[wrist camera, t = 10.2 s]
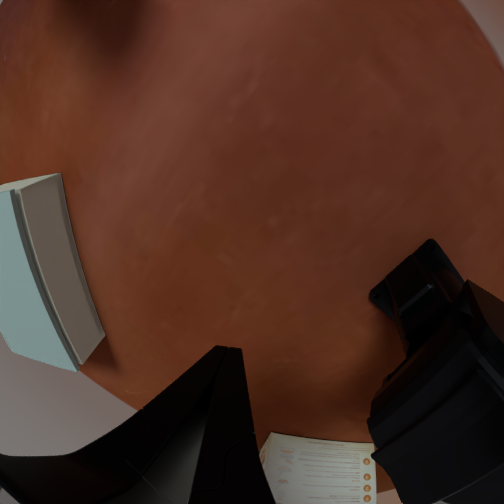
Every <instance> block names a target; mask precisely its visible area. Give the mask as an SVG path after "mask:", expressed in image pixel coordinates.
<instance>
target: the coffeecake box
mask: <svg viewBox="0 0 504 504" xmlns="http://www.w3.org/2000/svg"><path fill="white" fill-rule="evenodd" d="M374 451H375V450H374V443H352V442H339V441H328V440H319V439H310V438H303V437H296V436H290V435H284V434H278V433H273V432H271V434H270V435H269V437H268V439H267V440H266V442H265V444H264V445H263V447H262V448H261V451H260V455H259V456H260V460H261V463H262V466H263V469H264V472H265V475H266V478H267V481H268V483H269V486H270V489H271V491H272V494H273V497H274V499H275V502H276V504H376V467H375V461H374V460H373V459H372V458H371V453H373V452H374Z"/></svg>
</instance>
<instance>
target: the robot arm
mask: <svg viewBox="0 0 504 504" xmlns="http://www.w3.org/2000/svg"><path fill="white" fill-rule="evenodd" d="M431 244H433V247H432V248H429V246H430V245H431ZM375 294H378V295H377V296H374V295H375ZM370 298H371V300H372V301H373V302H374V303H375V304H376V305H377V306H378V307H379V308H380V309H381V310H382V311H383V312H384V313H385V314H387V315H388V316H389V317H390V318H391V319H392V320H393V321H394V322H395V323H396V326H397V329H398V332H399V335H400V339H401V342H402V345H403V348H404V352H405V355H406V359H405V360H404V361H403V362H402V363H401V364H400V365H399V366H398V368H397V369H396V370H395V371H394V372H393V373H392V374H389V375H388V376H387V377H386V378H385V379H384V380H383V385H382V387H381V388H380V389H379V390H378V391H377V392H376V394H375V396H374V398H373V400H372V403H371V411H370V417H369V418H368V419H367V424H368V429H369V433H370V435H371V438H372V440H373V442H374V444H375V446H376V447H377V449H378V450H376V451H374V452H373V453H371V458H372V459H373V460H374V461H375V462H377V463H378V464H379V465H380V466H382V467H383V469H384V470H385V471H386V472H387V474H388V475H389V476H390V478H391V480H392V482H393V484H394V486H395V488H396V491H397V493H398V495H399V498H400V500H401V502H402V503H403V504H434V503H436V502H439V501H442V502H445V503H448V504H504V302H503V301H501V300H500V299H498V298H497V297H495V296H494V295H492V294H490V293H489V292H487V291H486V290H484V289H483V288H481V287H479V286H478V285H476V284H475V283H473V282H471V281H470V280H468V279H467V280H466V282H464V281H463V279H462V277H461V276H460V274H459V273H458V271H457V270H456V269H455V267H454V266H453V264H452V263H451V261H450V260H449V258H448V257H447V256H446V254H445V253H444V251H443V250H442V249H441V247H440V246H439V245H438V243H437V242H436V241H435V240H434V239H428V240H427V241H426V242H425V243H424V244H423V245H422V246H421V247H419V248H418V249H417V250H416V251H415V252H414V253H413V254H412V255H409V256H408V257H407V258H406V259H405V260H404V261H403V262H402V263H401V264H399V265H398V266H397V267H396V268H395V269H394V270H393V271H392V272H390V273H389V274H388V275H387V276H386V278H385V279H384V280H383V281H381V282H380V283H379V284H378V285H377V286H376V287H374V288H373V289H372V290H371V291H370ZM188 499H189V501H188ZM187 502H188V504H276V502H275V499H274V497H273V494H272V491H271V489H270V486H269V483H268V481H267V478H266V475H265V472H264V469H263V466H262V463H261V460H260V456H259V451H258V447H257V442H256V436H255V430H254V424H253V418H252V412H251V406H250V400H249V393H248V387H247V380H246V374H245V367H244V360H243V354H242V349H241V348H235V347H229V348H228V347H227V346H219V345H216V346H214V347H213V348H212V349H211V350H210V351H209V352H208V353H206V354H205V355H204V356H203V357H202V358H201V359H200V360H198V361H197V362H196V363H195V364H194V365H193V366H191V367H190V368H189V369H188V370H187V371H186V372H185V373H183V374H182V375H181V376H180V377H179V378H178V379H176V380H175V381H174V382H173V383H172V384H170V385H169V386H168V387H167V388H166V389H165V390H163V391H162V392H161V393H160V394H159V395H157V396H156V397H155V398H154V399H152V400H151V401H150V402H149V403H148V404H146V405H145V406H144V407H143V409H140V410H139V411H138V412H136V413H135V414H134V415H133V416H132V417H130V418H129V419H128V420H126V421H125V422H123V423H122V424H121V425H119V426H118V427H116V428H115V429H113V430H111V431H110V432H108V433H107V434H105V435H103V436H102V437H100V438H98V439H97V440H95V441H93V442H92V443H90V444H88V445H86V446H85V447H83V448H81V449H79V450H77V451H75V452H72V453H70V454H66V455H58V456H8V455H3V454H0V504H187Z"/></svg>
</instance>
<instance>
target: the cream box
mask: <svg viewBox="0 0 504 504" xmlns="http://www.w3.org/2000/svg"><path fill="white" fill-rule="evenodd" d="M11 189H15V194H16V199H17V204H18V208H19V213H20V217H21V221H22V225H23V229H24V233H25V236H26V240H27V243H28V247H29V250H30V253H31V256H32V260H33V263H34V266H35V269H36V272H37V274H38V277H39V280H40V283H41V285H42V288H43V291H44V293H45V296H46V298H47V301H48V303H49V306H50V308H51V310H52V313H53V315H54V317H55V319H56V322H57V324H58V326H59V328H60V330H61V333H62V335H63V337H64V339H65V341H66V343H67V345H68V347H69V349H70V351H71V353H72V354H73V356H74V358H75V360H76V362H77V363H79V364H82V365H83V364H84V362H85V361H86V360H87V358H88V357H89V356H90V354H91V353H92V352H93V351H94V349H95V348H96V347H97V345H98V344H99V343H100V342H101V340H102V339H103V338H104V336H105V332H104V330H103V327H102V325H101V322H100V319H99V317H98V314H97V311H96V309H95V306H94V303H93V300H92V297H91V294H90V291H89V288H88V285H87V282H86V279H85V276H84V272H83V269H82V266H81V262H80V259H79V255H78V251H77V248H76V244H75V240H74V236H73V232H72V227H71V223H70V218H69V214H68V209H67V204H66V199H65V193H64V188H63V182H62V175H61V173H56V174H51V175H45V176H40V177H35V178H30V179H25V180H20V181H15V182H11V183H6V184H3V185H1V186H0V192H2V191H7V190H11Z"/></svg>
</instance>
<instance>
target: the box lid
mask: <svg viewBox="0 0 504 504" xmlns="http://www.w3.org/2000/svg"><path fill="white" fill-rule="evenodd" d="M0 331H1V333H2V335H3V337H4V338H5V340H6V342H7V344H8V345H9V347H10V349H11V351H12V352H14V353H17V354H20V355H22V356H25V357H28V358H31V359H34V360H37V361H40V362H43V363H47V364H50V365H53V366H57V367H60V368H64V369H67V370H71V371H75V372H78V371H79V369H80V367H79V366H78V364H77V362H76V360H75V358H74V356H73V354H72V353H71V351H70V349H69V347H68V345H67V343H66V341H65V339H64V337H63V335H62V333H61V330H60V328H59V326H58V324H57V322H56V319H55V317H54V315H53V313H52V310H51V308H50V306H49V303H48V301H47V298H46V296H45V293H44V291H43V288H42V285H41V283H40V280H39V277H38V274H37V272H36V269H35V266H34V263H33V260H32V256H31V253H30V250H29V247H28V243H27V240H26V236H25V233H24V229H23V225H22V221H21V217H20V213H19V208H18V204H17V199H16V194H15V189H11V190H7V191H2V192H0Z"/></svg>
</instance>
